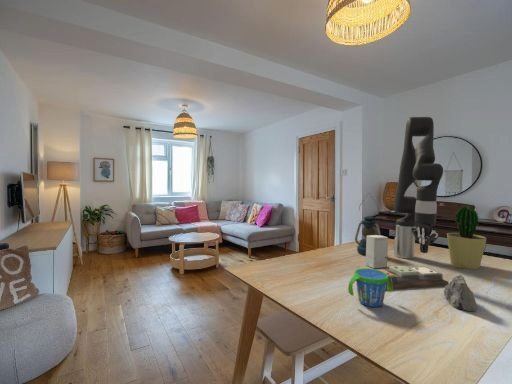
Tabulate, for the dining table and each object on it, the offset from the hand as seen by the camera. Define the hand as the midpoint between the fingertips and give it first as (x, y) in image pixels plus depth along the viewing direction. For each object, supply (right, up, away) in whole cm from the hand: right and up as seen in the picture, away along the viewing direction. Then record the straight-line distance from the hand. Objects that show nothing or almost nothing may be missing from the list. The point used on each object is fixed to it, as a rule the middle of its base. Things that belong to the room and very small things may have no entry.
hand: (423, 252), depth 111 cm
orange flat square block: (-20, -9, -3) cm, 22 cm away
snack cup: (-32, -12, -21) cm, 40 cm away
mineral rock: (-1, -13, -21) cm, 24 cm away
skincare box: (-12, -11, +17) cm, 24 cm away
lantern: (-7, -10, +40) cm, 41 cm away
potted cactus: (+33, -11, +20) cm, 40 cm away
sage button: (-10, -9, -2) cm, 13 cm away
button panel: (-10, -12, -1) cm, 15 cm away
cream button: (0, -10, 0) cm, 10 cm away
